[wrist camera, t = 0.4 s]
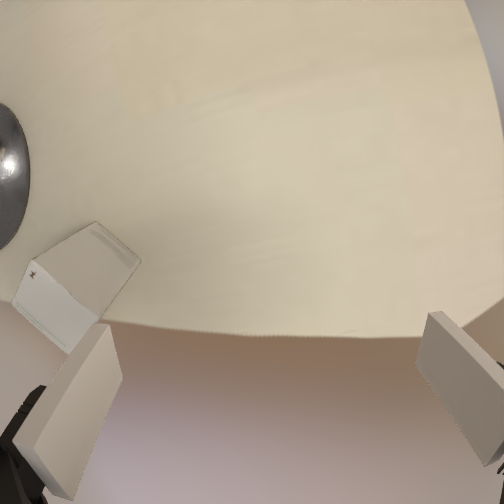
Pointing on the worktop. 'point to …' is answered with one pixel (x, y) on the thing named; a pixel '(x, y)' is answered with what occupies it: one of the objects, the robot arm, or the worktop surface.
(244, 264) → the worktop surface
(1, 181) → the bowl
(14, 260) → the worktop surface
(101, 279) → the skincare box
